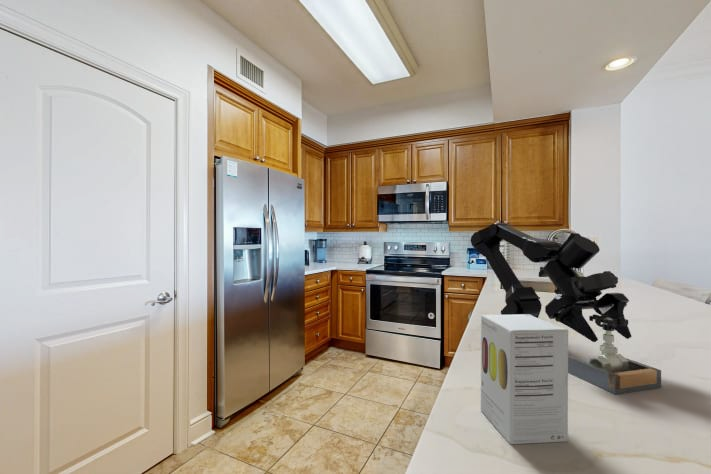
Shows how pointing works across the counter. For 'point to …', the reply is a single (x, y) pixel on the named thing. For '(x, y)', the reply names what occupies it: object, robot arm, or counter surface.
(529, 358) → the supplement box
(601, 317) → the valve
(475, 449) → the counter surface
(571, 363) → the grey wooden tray
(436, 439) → the counter surface
